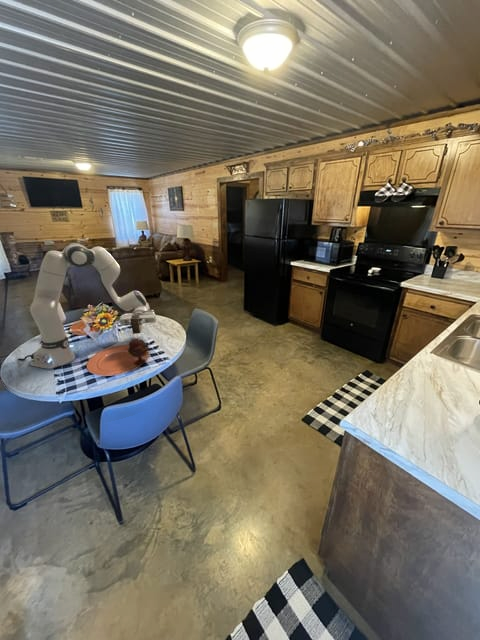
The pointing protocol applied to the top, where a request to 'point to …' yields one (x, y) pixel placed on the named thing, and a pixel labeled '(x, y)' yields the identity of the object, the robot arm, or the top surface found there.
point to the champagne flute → (61, 315)
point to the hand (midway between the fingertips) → (135, 324)
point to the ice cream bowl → (138, 350)
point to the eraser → (135, 324)
